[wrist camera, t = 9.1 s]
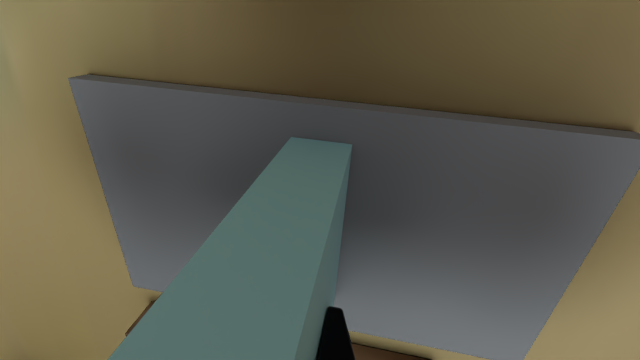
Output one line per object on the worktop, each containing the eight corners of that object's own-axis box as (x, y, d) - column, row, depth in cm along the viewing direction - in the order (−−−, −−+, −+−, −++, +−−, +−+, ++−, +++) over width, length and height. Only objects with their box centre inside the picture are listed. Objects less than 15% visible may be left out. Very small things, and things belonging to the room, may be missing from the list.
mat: (144, 274, 16) (133, 286, 15) (87, 74, 11) (67, 77, 11) (512, 347, 14) (519, 365, 13) (635, 131, 9) (656, 141, 8)
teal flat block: (288, 291, 13) (181, 589, 6) (291, 137, 10) (77, 396, 3) (334, 300, 13) (275, 621, 6) (352, 144, 10) (270, 447, 3)
